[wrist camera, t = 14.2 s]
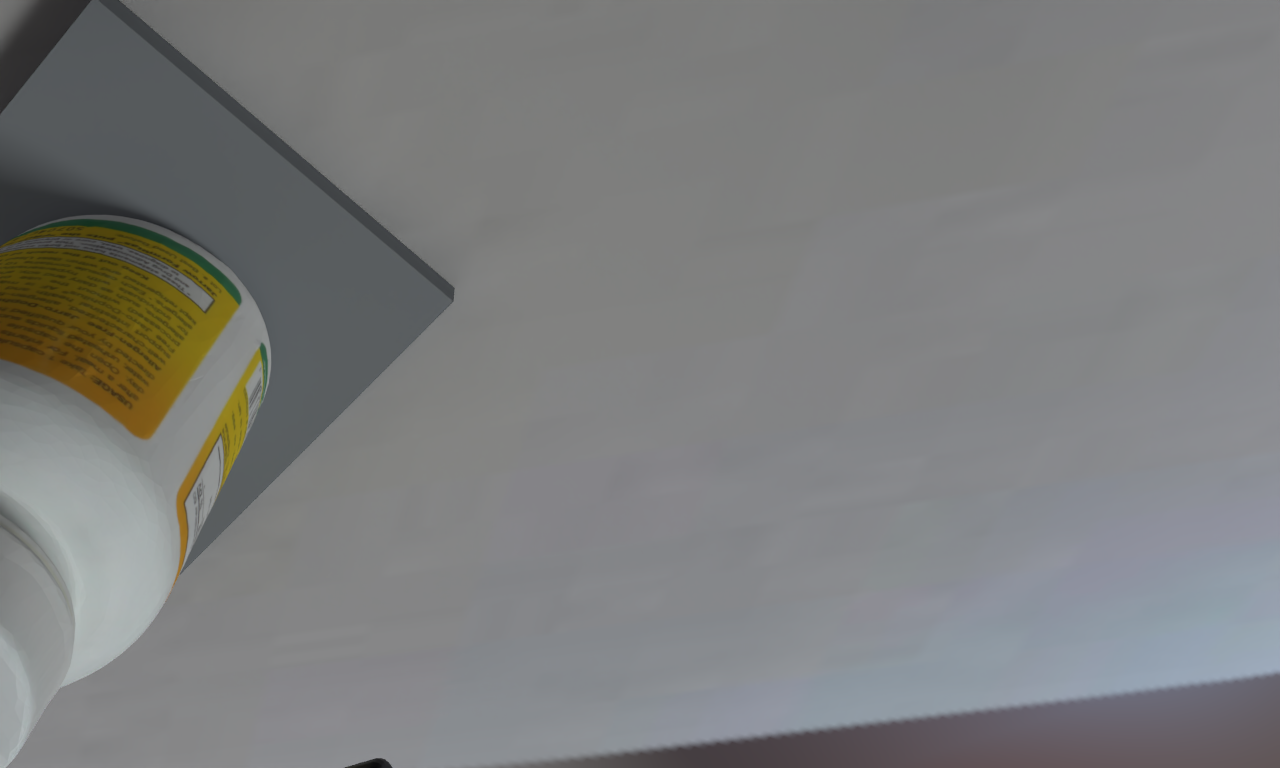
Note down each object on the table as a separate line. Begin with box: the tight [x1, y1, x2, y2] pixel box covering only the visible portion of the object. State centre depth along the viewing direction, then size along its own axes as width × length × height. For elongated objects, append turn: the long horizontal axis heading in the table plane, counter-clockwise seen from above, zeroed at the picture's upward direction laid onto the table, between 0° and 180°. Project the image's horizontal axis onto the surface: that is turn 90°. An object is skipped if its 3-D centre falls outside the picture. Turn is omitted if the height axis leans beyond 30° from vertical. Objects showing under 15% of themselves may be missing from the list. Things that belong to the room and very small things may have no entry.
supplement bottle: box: [0, 215, 271, 768], centre depth 14 cm, size 5×5×10 cm
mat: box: [0, 0, 454, 575], centre depth 18 cm, size 10×8×1 cm
